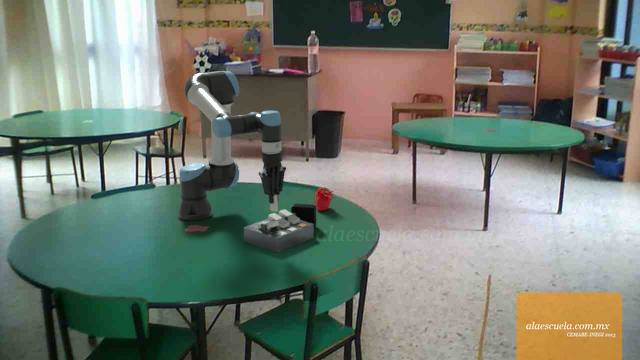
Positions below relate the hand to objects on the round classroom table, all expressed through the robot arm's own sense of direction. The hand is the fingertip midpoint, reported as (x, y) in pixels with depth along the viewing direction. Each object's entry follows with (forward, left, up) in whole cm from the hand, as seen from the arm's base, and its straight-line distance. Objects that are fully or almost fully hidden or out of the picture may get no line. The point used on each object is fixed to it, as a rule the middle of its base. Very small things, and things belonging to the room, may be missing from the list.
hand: (274, 210), depth 245 cm
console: (-4, +6, -15) cm, 17 cm away
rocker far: (-4, +12, -7) cm, 14 cm away
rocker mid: (-4, +6, -7) cm, 10 cm away
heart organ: (-15, +47, -15) cm, 51 cm away
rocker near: (-4, 0, -7) cm, 8 cm away
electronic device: (-5, +23, -15) cm, 28 cm away
